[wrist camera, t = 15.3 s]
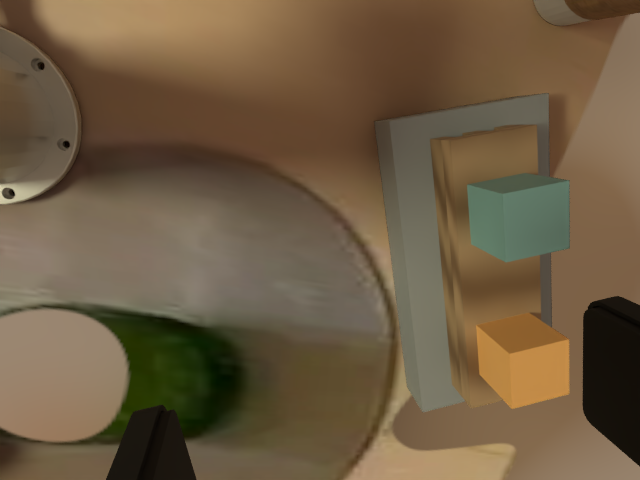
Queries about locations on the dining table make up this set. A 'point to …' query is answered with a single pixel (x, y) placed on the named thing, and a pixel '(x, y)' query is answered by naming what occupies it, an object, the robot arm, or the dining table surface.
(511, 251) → the teal cube
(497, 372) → the orange cube
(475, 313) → the brown wooden block
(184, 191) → the dining table surface
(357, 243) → the dining table surface
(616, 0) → the coffee cup
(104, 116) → the dining table surface
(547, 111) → the dock
